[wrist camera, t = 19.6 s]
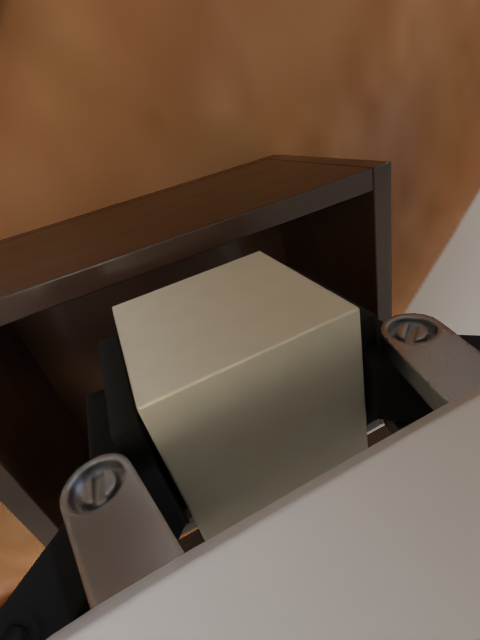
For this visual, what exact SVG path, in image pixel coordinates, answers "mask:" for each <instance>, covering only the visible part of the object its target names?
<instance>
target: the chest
mask: <svg viewBox="0 0 480 640" xmlns="http://www.w3.org/2000/svg"><path fill="white" fill-rule="evenodd" d="M258 251H261V252H262V253H264V254H266V255H268V256H269V257H271V258H273V259H275V260H276V261H278V262H280V263H282V264H283V265H285V266H287V267H288V266H290V267H292V268H294V269H296V270H298V271H299V272H301V273H303V274H305V275H307V276H308V277H310V278H312V279H314V280H315V281H317V282H319V283H321V284H323V285H324V286H326V287H328V288H330V289H331V290H333V291H335V292H337V293H338V294H340V295H342V296H344V297H346V298H347V299H349V300H351V301H353V302H354V303H356V304H358V305H360V306H362V307H363V308H365V309H367V310H369V311H370V312H372V313H374V314H376V318H377V319H379V320H381V321H383V322H385V321H386V320H387V319H388V318H391V317H392V262H391V162H388V161H372V160H355V159H338V158H322V157H305V156H288V155H272V156H269V157H266V158H263V159H259V160H256V161H253V162H250V163H247V164H243V165H240V166H237V167H234V168H231V169H227V170H224V171H221V172H218V173H215V174H211V175H208V176H205V177H202V178H199V179H195V180H192V181H189V182H186V183H183V184H179V185H176V186H173V187H170V188H167V189H163V190H160V191H157V192H154V193H151V194H147V195H144V196H141V197H138V198H135V199H131V200H128V201H125V202H122V203H119V204H115V205H112V206H109V207H106V208H103V209H99V210H96V211H93V212H90V213H87V214H83V215H80V216H77V217H74V218H71V219H67V220H64V221H61V222H58V223H55V224H51V225H48V226H45V227H42V228H39V229H36V230H32V231H29V232H26V233H23V234H20V235H16V236H13V237H10V238H7V239H4V240H0V501H1V502H2V503H3V504H4V505H5V506H6V507H7V508H8V509H9V510H10V511H11V512H12V513H13V514H14V515H15V516H16V517H17V518H18V519H19V520H20V521H21V522H22V523H23V524H24V525H25V526H26V527H27V528H28V530H29V531H30V532H31V533H32V534H33V535H34V536H35V537H36V538H37V539H38V540H39V541H40V542H41V543H42V544H43V545H44V546H45V547H47V545H48V544H49V543H50V541H51V540H52V539H53V537H54V536H55V535H56V533H57V532H58V531H59V529H60V528H61V527H62V525H63V524H64V520H63V517H62V513H61V510H60V496H61V493H62V490H63V488H64V486H65V484H66V483H67V481H68V479H69V478H70V477H71V476H72V475H73V474H74V472H75V471H76V470H77V469H78V468H80V467H81V466H82V465H83V464H85V463H86V462H88V461H89V460H90V458H89V441H88V424H87V407H86V397H87V396H88V395H90V394H92V393H95V392H97V391H99V390H102V389H104V383H103V376H102V369H101V361H100V354H99V346H98V342H100V341H103V340H105V339H108V338H110V337H113V336H115V335H118V331H117V327H116V323H115V319H114V315H113V311H112V307H113V306H116V305H118V304H121V303H124V302H126V301H129V300H132V299H134V298H137V297H139V296H142V295H145V294H147V293H150V292H153V291H155V290H158V289H161V288H163V287H166V286H168V285H171V284H174V283H176V282H179V281H182V280H184V279H187V278H189V277H192V276H195V275H197V274H200V273H203V272H205V271H208V270H211V269H213V268H216V267H218V266H221V265H224V264H226V263H229V262H232V261H234V260H237V259H240V258H242V257H245V256H247V255H250V254H253V253H255V252H258ZM118 337H119V335H118ZM383 423H384V421H383V420H382V419H377V420H375V421H373V422H372V423H370V424H368V425H367V432H368V431H370V430H372V429H374V428H376V427H377V426H379V425H380V424H383ZM186 511H187V514H188V518H189V521H190V523H188V524H186V525H185V527H184V529H183V531H182V533H181V535H183V534H184V533H186V532H188V531H190V530H192V529H193V528H195V527H197V524H196V523H195V521H194V519H193V517H192V515H191V513H190V511H189V509H188V508H186Z"/></svg>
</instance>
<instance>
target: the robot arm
mask: <svg viewBox="0 0 480 640" xmlns="http://www.w3.org/2000/svg"><path fill="white" fill-rule="evenodd" d="M288 267H289V268H290V269H292V270H294V271H296V272H297V273H299V274H301V275H303V276H304V277H306V278H308V279H310V280H312V281H313V282H315V283H317V284H319V285H320V286H322V287H324V288H326V289H327V290H329V291H331V292H333V293H334V294H336V295H338V296H340V297H341V298H343V299H345V300H347V301H348V302H350V303H352V304H354V305H355V306H357V307H358V308H359V310H360V326H361V342H362V359H363V375H364V391H365V408H366V424H367V425H368V424H370V423H372V422H373V421H375V420H377V419H382V420H383V421H384V423H385V425H386V427H387V429H388V430H389V432H390V433H391V434H392V435H390V436H388V437H387V438H385V439H383V440H381V441H380V442H378V443H376V444H374V445H373V446H371V447H369V448H367V449H365V450H364V451H362V452H360V453H358V454H357V455H355V456H353V457H351V458H350V459H348V460H346V461H344V462H343V463H341V464H339V465H337V466H336V467H334V468H332V469H330V470H329V471H327V472H325V473H323V474H322V475H320V476H318V477H316V478H315V479H313V480H311V481H309V482H308V483H306V484H304V485H302V486H301V487H299V488H297V489H295V490H293V491H292V492H290V493H288V494H287V495H285V496H283V497H281V498H280V499H278V500H276V501H274V502H273V503H271V504H269V505H267V506H266V507H264V508H262V509H261V510H259V511H257V512H255V513H254V514H252V515H250V516H248V517H247V518H245V519H243V520H241V521H240V522H238V523H236V524H234V525H233V526H231V527H229V528H228V529H226V530H224V531H222V532H221V533H219V534H217V535H215V536H214V537H212V538H210V539H208V540H207V541H205V542H203V543H201V544H200V545H198V546H196V547H195V548H193V549H191V550H189V551H188V552H186V553H184V551H183V549H182V548H181V546H180V544H179V543H178V540H179V538H180V536H181V533H182V531H183V529H184V527H185V525H186V524H188V523H190V521H189V518H188V514H187V511H186V508H188V507H187V505H186V503H185V501H184V499H183V497H182V496H181V494H180V492H179V490H178V488H177V486H176V484H175V482H174V480H173V478H172V476H171V474H170V472H169V470H168V469H167V467H166V465H165V463H164V461H163V459H162V457H161V455H160V453H159V451H158V449H157V447H156V445H155V443H154V442H153V440H152V438H151V436H150V434H149V432H148V430H147V428H146V426H145V424H144V422H143V420H142V418H141V416H140V415H139V413H138V411H137V408H136V404H135V400H134V396H133V392H132V388H131V384H130V380H129V376H128V372H127V367H126V363H125V359H124V355H123V351H122V347H121V343H120V339H119V337H118V335H115V336H113V337H110V338H108V339H105V340H103V341H100V342H98V346H99V354H100V361H101V369H102V376H103V383H104V389H102V390H99V391H97V392H95V393H92V394H90V395H88V396H87V397H86V407H87V424H88V441H89V458H90V460H89V461H88V462H86V463H85V464H83V465H82V466H81V467H80V468H78V469H77V470H76V471H75V472H74V474H73V475H72V476H71V477H70V478H69V479H68V481H67V483H66V484H65V486H64V488H63V490H62V493H61V496H60V510H61V513H62V517H63V520H64V524H63V525H62V527H61V528H60V529H59V531H58V532H57V533H56V535H55V536H54V537H53V539H52V540H51V541H50V543H49V544H48V545H47V547H46V548H45V550H44V551H43V552H42V554H41V555H40V556H39V558H38V559H37V560H36V562H35V563H34V564H33V566H32V567H31V568H30V570H29V571H28V572H27V574H26V575H25V576H24V578H23V579H22V581H21V582H20V583H19V585H18V586H17V587H16V589H15V590H14V591H13V593H12V594H11V595H10V597H9V598H8V599H7V601H6V602H5V603H4V605H3V606H2V608H1V609H0V640H480V336H472V335H471V336H470V335H457V334H456V333H455V332H453V331H452V330H451V329H449V328H448V327H447V326H445V325H444V324H443V323H441V322H440V321H438V320H437V319H435V318H433V317H430V316H427V315H424V314H416V313H407V314H400V315H396V316H393V317H391V318H388V319H387V320H386V321H385V322H383V321H381V320H379V319H377V318H376V314H374V313H372V312H370V311H369V310H367V309H365V308H363V307H362V306H360V305H358V304H356V303H354V302H353V301H351V300H349V299H347V298H346V297H344V296H342V295H340V294H338V293H337V292H335V291H333V290H331V289H330V288H328V287H326V286H324V285H323V284H321V283H319V282H317V281H315V280H314V279H312V278H310V277H308V276H307V275H305V274H303V273H301V272H299V271H298V270H296V269H294V268H292V267H290V266H288Z"/></svg>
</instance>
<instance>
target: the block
mask: <svg viewBox="0 0 480 640" xmlns="http://www.w3.org/2000/svg"><path fill="white" fill-rule="evenodd" d="M112 311H113V315H114V319H115V323H116V327H117V331H118V335H119V339H120V343H121V347H122V351H123V355H124V359H125V363H126V367H127V372H128V376H129V380H130V384H131V388H132V392H133V396H134V400H135V404H136V408H137V411H138V413H139V415H140V416H141V418H142V420H143V422H144V424H145V426H146V428H147V430H148V432H149V434H150V436H151V438H152V440H153V442H154V443H155V445H156V447H157V449H158V451H159V453H160V455H161V457H162V459H163V461H164V463H165V465H166V467H167V469H168V470H169V472H170V474H171V476H172V478H173V480H174V482H175V484H176V486H177V488H178V490H179V492H180V494H181V496H182V497H183V499H184V501H185V503H186V505H187V507H188V509H189V511H190V513H191V515H192V517H193V519H194V521H195V523H196V524H197V526H198V528H199V530H200V532H201V534H202V536H203V538H204V540H205V541H207V540H208V539H210V538H212V537H214V536H215V535H217V534H219V533H221V532H222V531H224V530H226V529H228V528H229V527H231V526H233V525H234V524H236V523H238V522H240V521H241V520H243V519H245V518H247V517H248V516H250V515H252V514H254V513H255V512H257V511H259V510H261V509H262V508H264V507H266V506H267V505H269V504H271V503H273V502H274V501H276V500H278V499H280V498H281V497H283V496H285V495H287V494H288V493H290V492H292V491H293V490H295V489H297V488H299V487H301V486H302V485H304V484H306V483H308V482H309V481H311V480H313V479H315V478H316V477H318V476H320V475H322V474H323V473H325V472H327V471H329V470H330V469H332V468H334V467H336V466H337V465H339V464H341V463H343V462H344V461H346V460H348V459H350V458H351V457H353V456H355V455H357V454H358V453H360V452H362V451H364V450H365V449H367V448H368V441H367V424H366V408H365V391H364V375H363V359H362V342H361V326H360V310H359V308H358V307H357V306H355V305H354V304H352V303H350V302H348V301H347V300H345V299H343V298H341V297H340V296H338V295H336V294H334V293H333V292H331V291H329V290H327V289H326V288H324V287H322V286H320V285H319V284H317V283H315V282H313V281H312V280H310V279H308V278H306V277H304V276H303V275H301V274H299V273H297V272H296V271H294V270H292V269H290V268H289V267H287V266H285V265H283V264H282V263H280V262H278V261H276V260H275V259H273V258H271V257H269V256H268V255H266V254H264V253H262V252H261V251H258V252H255V253H253V254H250V255H247V256H245V257H242V258H240V259H237V260H234V261H232V262H229V263H226V264H224V265H221V266H218V267H216V268H213V269H211V270H208V271H205V272H203V273H200V274H197V275H195V276H192V277H189V278H187V279H184V280H182V281H179V282H176V283H174V284H171V285H168V286H166V287H163V288H161V289H158V290H155V291H153V292H150V293H147V294H145V295H142V296H139V297H137V298H134V299H132V300H129V301H126V302H124V303H121V304H118V305H116V306H113V307H112Z"/></svg>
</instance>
